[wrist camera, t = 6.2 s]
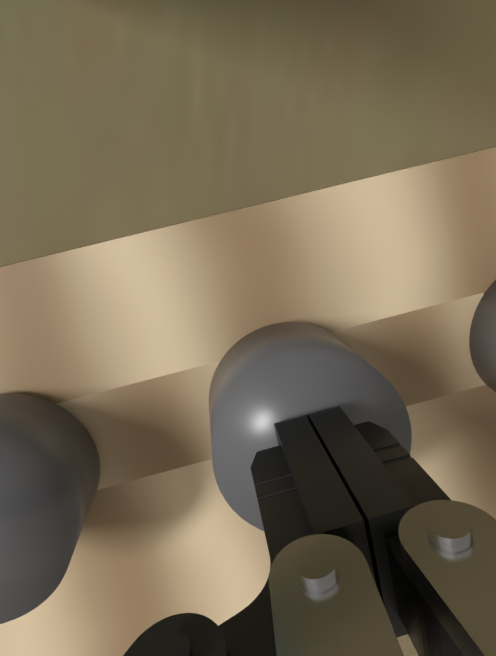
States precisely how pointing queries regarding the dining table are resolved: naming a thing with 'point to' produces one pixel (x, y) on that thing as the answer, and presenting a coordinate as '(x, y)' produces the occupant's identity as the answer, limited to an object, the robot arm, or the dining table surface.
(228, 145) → the dining table surface
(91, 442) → the knob
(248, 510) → the knob middle
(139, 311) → the panel
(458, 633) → the robot arm
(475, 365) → the knob
